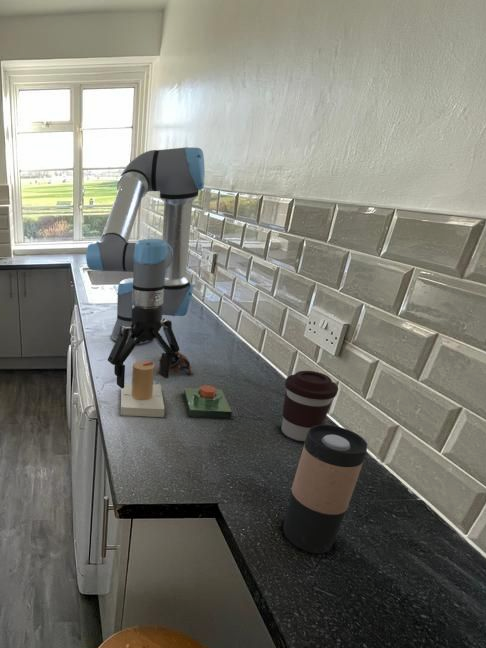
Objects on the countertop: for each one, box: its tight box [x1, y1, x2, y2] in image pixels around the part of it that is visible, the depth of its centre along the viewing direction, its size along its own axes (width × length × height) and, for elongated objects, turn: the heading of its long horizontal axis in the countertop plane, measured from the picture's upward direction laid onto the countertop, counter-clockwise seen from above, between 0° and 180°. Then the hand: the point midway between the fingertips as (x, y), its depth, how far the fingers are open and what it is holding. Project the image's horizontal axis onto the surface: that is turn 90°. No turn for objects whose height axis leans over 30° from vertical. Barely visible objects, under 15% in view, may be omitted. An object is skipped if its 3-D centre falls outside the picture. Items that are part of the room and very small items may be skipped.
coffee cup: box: [280, 370, 339, 442], centre depth 92 cm, size 10×10×15 cm
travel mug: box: [282, 424, 368, 554], centre depth 64 cm, size 8×8×20 cm
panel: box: [120, 382, 166, 418], centre depth 110 cm, size 14×11×3 cm
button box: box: [183, 387, 232, 420], centre depth 107 cm, size 12×10×4 cm
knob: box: [131, 360, 155, 400], centre depth 108 cm, size 6×6×9 cm
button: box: [199, 384, 217, 397], centre depth 106 cm, size 4×4×2 cm
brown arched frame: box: [158, 351, 192, 376], centre depth 127 cm, size 12×10×8 cm
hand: (142, 381), depth 108 cm, fingers open, 13 cm apart
